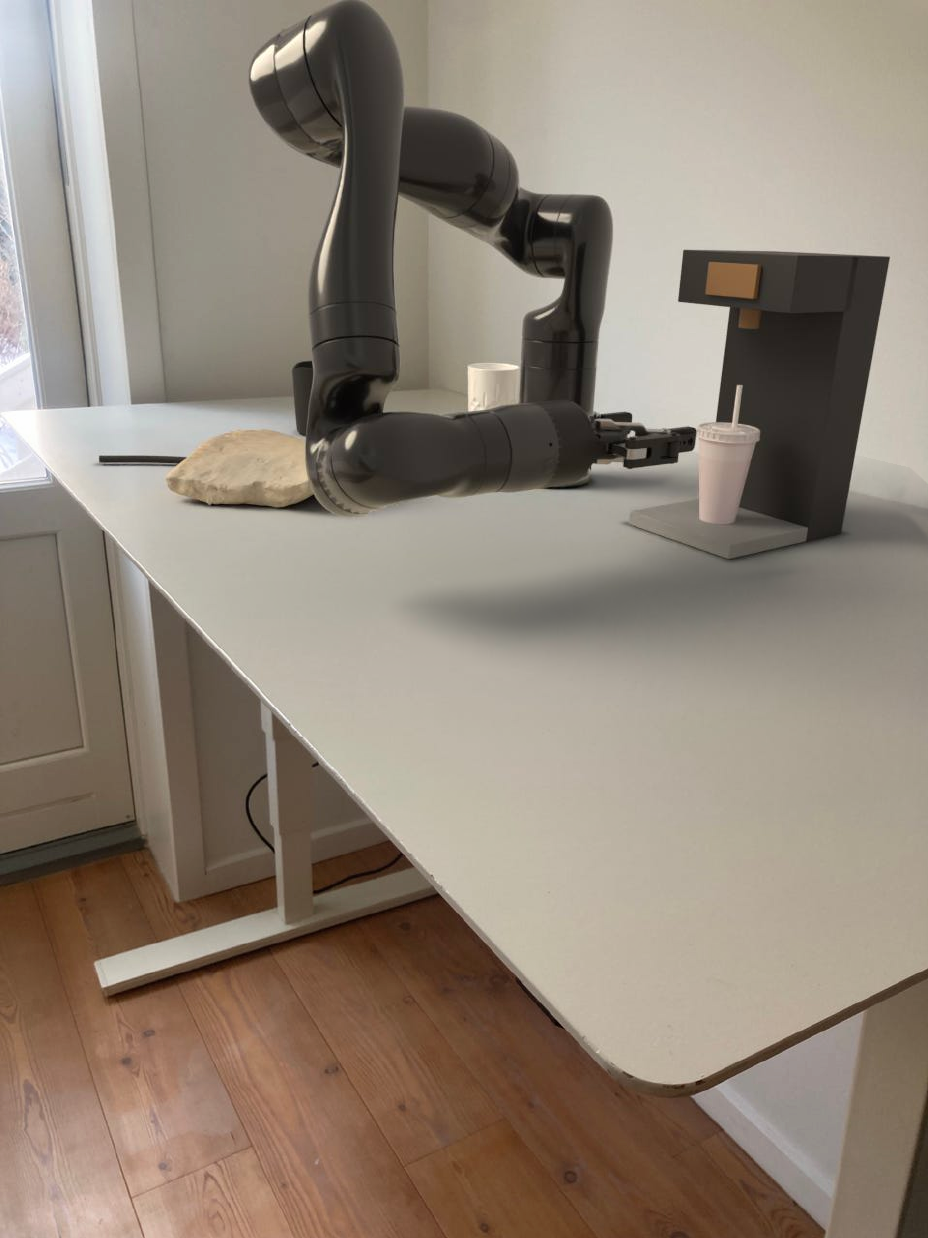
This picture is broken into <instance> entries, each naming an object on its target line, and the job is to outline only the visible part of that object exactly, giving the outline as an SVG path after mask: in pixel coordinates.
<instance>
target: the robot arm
mask: <svg viewBox="0 0 928 1238" xmlns="http://www.w3.org/2000/svg"><path fill="white" fill-rule="evenodd" d="M249 63H250V64H249V67H248V88H249V92H250V95H251V99H252V101H253V103H254V106H255V108H256V110H257V112H258V114H259V115H260V117H261V118H262V120H263V121H264V123H265V124H266V126H267V127H268V128H269V129H270V130H271V132H272V133H273V134H275V135H276V137H278V138H279V139H280V141H282V142H283V143H284V144H286V145H287V146H288V147H290V148H291V149H292V150H294V151H296V152H297V153H299V154H301V155H303V156H305V157H308V158H311V159H313V160H315V161H317V162H321V163H323V164H326V165H329V166H332V167H334V168H337V169H339V173H338V178H337V182H336V187H335V191H334V194H333V199H332V201H331V204H330V207H329V211H328V214H327V217H326V220H325V223H324V226H323V228H322V231H321V234H320V237H319V240H318V242H317V245H316V249H315V252H314V255H313V259H312V263H311V265H310V266H311V267H310V271H309V276H308V278H309V279H308V284H307V317H308V318H307V319H308V328H309V329H308V330H309V344H310V353H311V354H310V357H311V361H312V364H313V383H312V389H311V395H310V401H309V410H308V420H307V430H306V436H305V440H306V441H305V464H306V471H307V476H308V480H309V483H310V486H311V489H312V491H313V493H314V494H313V495H314V497H315V498H316V500H317V501H318V503H319V504H320V505H321V507H323V508H324V509H325V510H327V512H329V513H331V514H333V515H336V516H338V517H340V518H341V517H342V518H359V517H362V516H366V515H368V514H370V513H373V512H376V511H379V510H382V509H384V508H388V507H391V506H393V505H396V504H401V503H404V502H409V501H413V500H418V499H424V498H430V497H435V496H437V497H439V498H445V499H457V498H458V499H459V498H460V499H461V498H467V497H473V496H478V495H479V496H480V495H486V494H494V493H519V492H525V491H526V492H527V491H532V490H533V491H534V490H539V489H545V488H571V487H572V488H573V487H577V486H578V487H579V486H582V485H586V484H587V483H589V481H590V472H592V465H593V464H595V465H610V464H612V463H622V467H623V468H626V469H628V470H632V469H639V468H646V467H654V466H662V465H663V466H664V465H674V464H678V463H679V455H680V454H681V453H688V452H692V451H694V450H695V447H696V443H697V442H696V440H697V436H696V433H697V427H693V426H690V425H688V426H687V425H686V426H680V427H672V428H664V427H663V428H646V427H645V425H644V424H643V423H641V422H633V414H632V413H631V412H630V411H617V412H608V413H607V412H606V413H600V412H597V411H594V409H595V408H594V407H595V395H596V381H597V371H598V370H597V368H598V366H597V365H598V356H599V354H598V353H599V345H600V343H599V342H600V341H599V340H600V329H601V326H602V322H603V317H604V314H605V309H606V300H607V290H608V283H609V282H608V281H609V274H610V267H611V260H612V252H613V243H614V221H613V214H612V210H611V207H610V206H609V203H608V202H607V200H606V199H605V198H604V197H602V196H599V195H596V194H584V193H583V194H581V193H578V194H575V193H573V194H572V193H536V192H532V191H530V190H527V189H525V188H523V187H521V185H520V183H521V182H520V172H519V168H518V164H517V162H516V159H515V157H514V155H513V153H512V152H511V151H510V149H509V148H508V147H507V146H506V145H505V143H503V142H502V141H501V140H500V139H499V138H498V137H496V136H495V135H494V134H492V133H491V132H489V131H488V130H487V129H485V128H484V127H483V126H482V125H480V124H479V123H477V122H476V121H474V120H472V119H471V118H469V117H467V116H465V115H463V114H460V113H457V112H453V111H449V110H444V109H439V108H433V107H425V106H416V105H415V106H414V105H405V103H406V102H405V101H406V99H405V98H406V97H405V96H406V95H405V91H406V90H405V79H404V76H405V75H404V69H403V62H402V59H401V55H400V51H399V47H398V45H397V42H396V39H395V37H394V35H393V33H392V32H391V30H390V28H389V26H388V24H387V22H386V21H385V20H384V18H383V17H382V16H381V14H380V13H379V12H378V11H377V10H376V9H375V8H374V7H373V6H372V5H370V4H369V3H367V2H366V1H363V0H338V1H335V2H333V3H330V4H329V5H326V6H324V7H322V8H321V9H319V10H316V11H314V12H313V13H311V14H309V15H307V16H306V17H303V18H302V19H300V20H298V21H296V22H294V23H293V24H291V25H289V26H288V27H286V28H283V29H282V30H280V31H279V32H276V33H275V34H274V35H272V36H271V37H269V38H268V39H267V40H266V41H265V42H263V43H262V44H261V46H259V47H258V48H257V50H256V51H255V53H254V54H253V56H252V58H251V60H250V62H249ZM399 197H401V198H403V199H405V200H407V201H409V202H410V203H413V204H414V205H416V206H418V207H420V208H421V209H422V210H424V211H426V212H427V213H429V214H430V215H431V216H434V217H435V218H438V220H441V221H443V222H444V223H446V224H448V225H450V226H452V227H455V228H457V229H459V230H461V231H463V232H465V233H467V234H468V235H470V236H471V237H474V238H476V239H478V240H480V241H482V242H484V243H486V244H488V245H490V246H491V247H492V248H494V249H495V250H497V252H499V253H500V254H501V255H502V256H504V257H505V259H507V260H508V261H509V262H511V263H512V264H513V265H514V266H516V267H517V268H518V269H519V270H520V271H522V272H524V273H525V274H527V275H530V276H532V277H536V278H540V279H553V280H555V279H556V280H564V281H563V287H562V290H561V293H560V295H559V297H557V298H556V299H555V300H554V301H552V302H551V303H550V304H548V305H545V306H543V307H540V308H536V309H533V310H530V311H528V312H526V314H524V317H523V319H522V329H521V331H522V332H521V352H520V354H521V355H520V371H519V395H518V402H517V403H516V404H510V405H503V406H498V407H495V408H491V409H487V410H479V411H468V410H467V411H460V412H453V413H452V412H451V413H445V414H437V413H429V412H421V411H420V412H418V411H417V412H416V411H403V410H400V411H399V410H398V411H385V412H384V410H385V409H384V408H385V403H386V400H387V398H388V396H389V395H390V393H391V392H392V391H393V390H394V387H395V386H396V385H397V383H398V381H399V380H400V375H401V368H402V367H401V366H402V365H401V364H402V363H401V362H402V361H401V360H402V359H401V348H400V347H401V346H400V345H401V344H400V333H399V332H400V331H399V321H398V319H399V318H398V310H397V309H398V307H397V296H396V280H395V278H396V277H395V245H396V243H395V242H396V228H397V227H396V226H397V216H398V203H399ZM631 432H634V435H633V436H629V437H628V435H630V434H631ZM187 457H188V456H177V455H176V456H173V455H98V462H99V463H100V464H102V463H103V464H104V463H105V464H108V463H109V464H112V463H113V464H118V463H119V464H120V463H121V464H125V463H126V464H128V463H129V464H134V463H136V464H137V463H138V464H139V463H141V464H146V463H147V464H176V465H178V464H179V463H180V462H182V461H183V460H184V459H186V458H187Z"/></svg>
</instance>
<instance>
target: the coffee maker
mask: <svg viewBox="0 0 928 1238" xmlns="http://www.w3.org/2000/svg"><path fill="white" fill-rule="evenodd" d="M890 259H891V256H885V255H884V256H883V255H864V254H863V255H862V254H843V253H842V254H841V253H822V252H821V253H820V252H802V251H801V252H798V251H776V250H731V249H730V250H726V249H725V250H723V249H720V250H719V249H683V250H682V259H681V267H680V268H681V269H680V276H679V277H680V278H679V287H678V298H677V302H678V303H685V304H696V305H705V306H716V307H723V308H729V312H728V320H727V328H726V336H725V342H724V351H723V359H722V368H721V375H720V376H721V377H720V383H719V393H718V400H717V407H716V418H715V422H724V423H732V420H733V413H734V405H735V397H736V389H737V385H743V387H742V395H741V402H740V410H739V418H738V424H743V425H749V426H753V427H756V428H758V429H759V430H760V437H759V438H760V440H759V441H758V442H756V444H755V448H754V452H753V456H752V459H751V463H750V466H749V470H748V474H747V478H746V481H745V485H744V489H743V493H742V497H741V500H740V504H739V508H738V512H737V515H736V519H735V522H734V523H731V524H713V523H708V522H704V521H702V520H700V519H699V498H697V499H691V500H684V501H679V502H674V503H668V504H662V505H657V506H652V507H646V508H641V509H634V510H630V511H629V519H628V520H629V521H628V525H630V526H632V527H635V528H639V529H641V530H644V531H647V532H650V533H653V534H655V535H658V536H662V537H664V538H667V539H670V540H673V541H675V542H679V543H682V544H684V545H687V546H690V547H692V548H696V549H698V550H701V551H703V552H706V553H710V554H712V555H715V556H718V557H721V558H724V559H727V560H731V559H736V558H740V557H744V556H748V555H749V556H750V555H753V554H757V553H762V552H766V551H771V550H774V549H778V548H783V547H788V546H792V545H797V544H801V543H805V542H809V541H810V542H811V541H814V540H818V539H822V538H826V537H831V536H836V535H840V534H842V532H843V525H844V520H845V514H846V509H847V503H848V497H849V492H850V488H851V487H850V486H851V481H852V474H853V469H854V464H855V458H856V452H857V447H858V446H857V445H858V442H859V441H858V440H859V436H860V435H859V434H860V430H861V423H862V420H863V419H862V417H863V412H864V406H865V401H866V395H867V389H868V384H869V379H870V372H871V369H872V368H871V367H872V363H873V362H872V361H873V357H874V350H875V345H876V339H877V333H878V327H879V322H880V316H881V310H882V305H883V301H884V300H883V298H884V293H885V287H886V281H887V276H888V271H889V267H890Z"/></svg>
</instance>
